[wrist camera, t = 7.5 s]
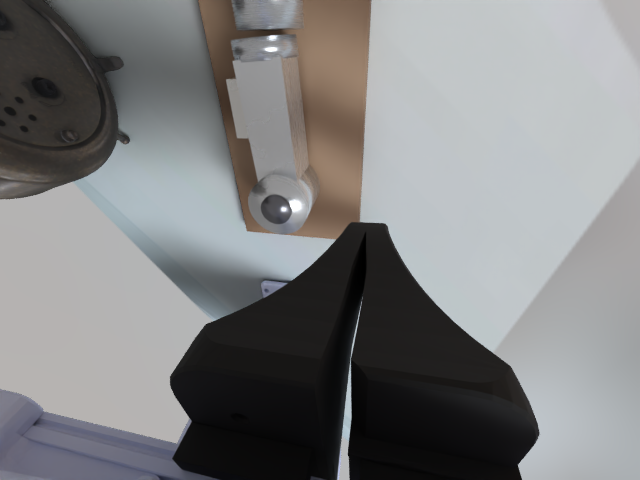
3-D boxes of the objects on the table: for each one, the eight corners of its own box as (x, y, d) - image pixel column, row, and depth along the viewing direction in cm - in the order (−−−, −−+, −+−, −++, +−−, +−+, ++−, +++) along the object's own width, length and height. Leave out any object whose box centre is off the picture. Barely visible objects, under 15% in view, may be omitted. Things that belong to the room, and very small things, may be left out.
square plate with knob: (338, 130, 17) (321, 157, 13) (246, 128, 18) (205, 153, 14) (338, -89, 12) (312, -153, 8) (212, -73, 13) (133, -122, 9)
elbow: (322, 207, 20) (308, 238, 17) (274, 206, 21) (253, 235, 18) (307, 34, 15) (283, 32, 12) (243, 41, 16) (204, 41, 12)
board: (358, 234, 22) (357, 241, 21) (251, 224, 24) (246, 231, 23) (375, -85, 13) (374, -94, 12) (195, -62, 14) (182, -69, 14)
